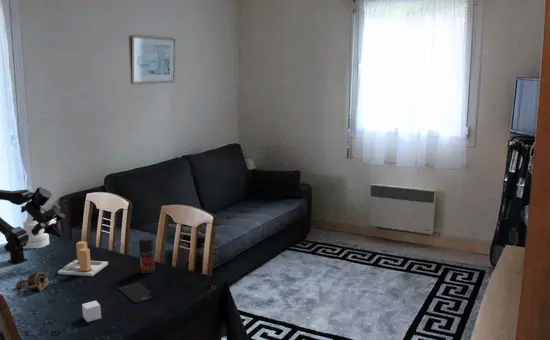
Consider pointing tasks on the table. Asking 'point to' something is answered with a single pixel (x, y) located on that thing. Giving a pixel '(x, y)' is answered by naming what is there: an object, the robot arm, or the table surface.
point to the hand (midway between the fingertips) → (62, 237)
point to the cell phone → (135, 292)
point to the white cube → (91, 311)
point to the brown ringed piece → (34, 282)
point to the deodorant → (146, 254)
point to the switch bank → (75, 270)
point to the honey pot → (37, 240)
